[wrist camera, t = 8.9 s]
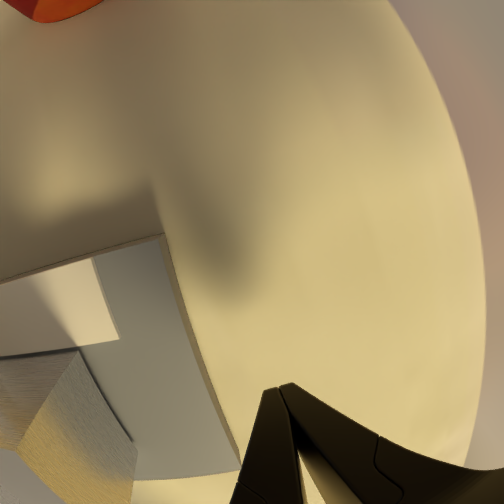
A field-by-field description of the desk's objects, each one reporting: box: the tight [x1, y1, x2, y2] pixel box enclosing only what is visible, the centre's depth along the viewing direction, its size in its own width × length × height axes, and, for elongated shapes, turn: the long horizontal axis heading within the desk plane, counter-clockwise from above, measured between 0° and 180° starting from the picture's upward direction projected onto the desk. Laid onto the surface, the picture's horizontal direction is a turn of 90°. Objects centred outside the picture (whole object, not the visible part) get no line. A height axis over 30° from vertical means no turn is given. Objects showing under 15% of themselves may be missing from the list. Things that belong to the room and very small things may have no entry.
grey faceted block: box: [0, 351, 138, 504], centre depth 5 cm, size 7×5×4 cm, turn 12°
